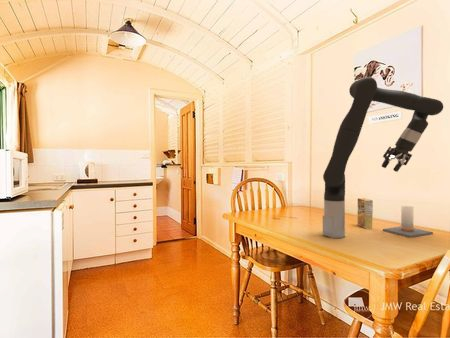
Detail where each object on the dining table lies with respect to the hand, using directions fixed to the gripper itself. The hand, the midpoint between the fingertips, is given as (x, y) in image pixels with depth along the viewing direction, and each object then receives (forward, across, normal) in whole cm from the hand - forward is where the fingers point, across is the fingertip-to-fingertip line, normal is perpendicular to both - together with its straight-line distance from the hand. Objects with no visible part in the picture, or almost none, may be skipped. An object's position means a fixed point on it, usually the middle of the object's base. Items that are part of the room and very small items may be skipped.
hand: (389, 169), depth 132 cm
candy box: (+34, -7, +2) cm, 35 cm away
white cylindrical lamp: (+24, -15, +16) cm, 32 cm away
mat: (+24, -16, +16) cm, 33 cm away
